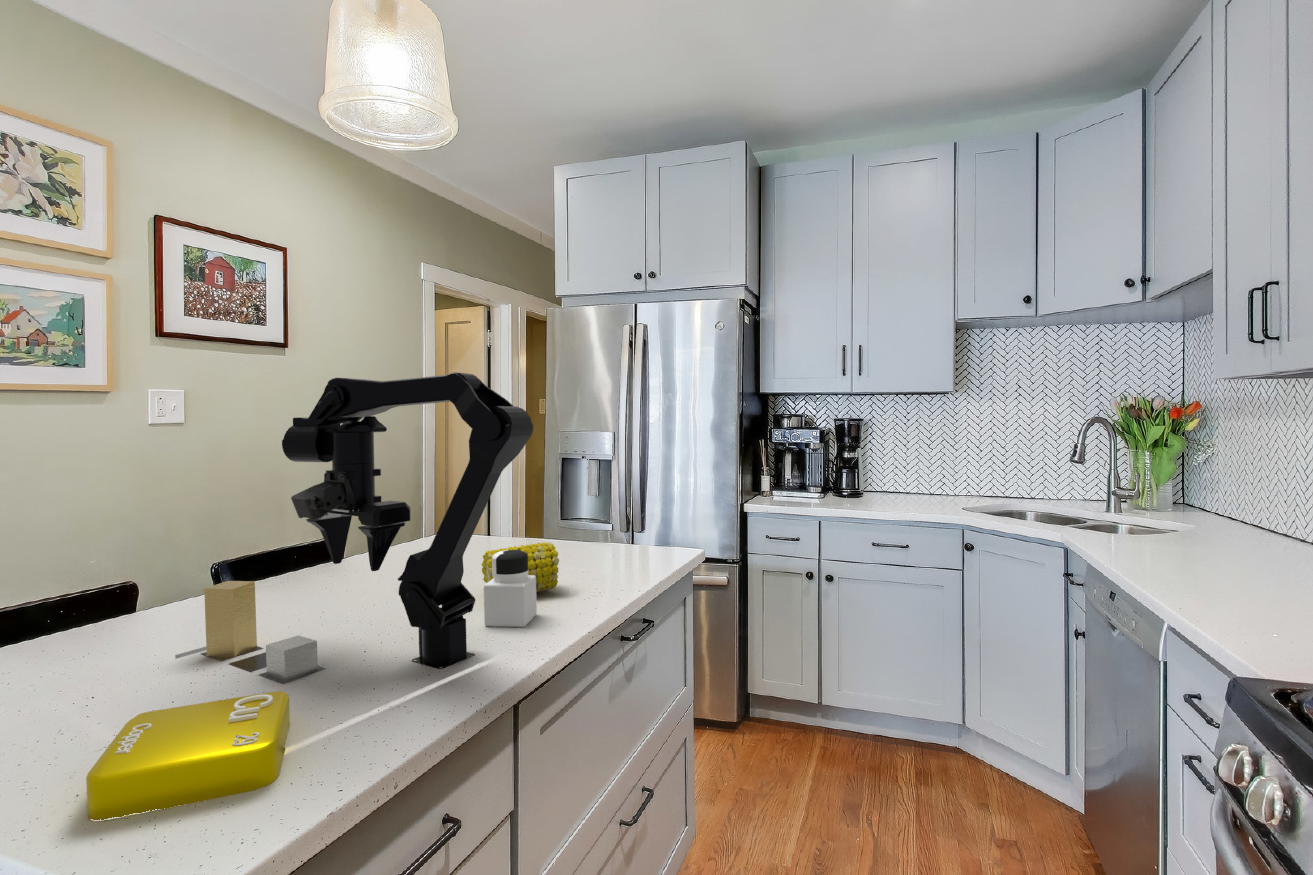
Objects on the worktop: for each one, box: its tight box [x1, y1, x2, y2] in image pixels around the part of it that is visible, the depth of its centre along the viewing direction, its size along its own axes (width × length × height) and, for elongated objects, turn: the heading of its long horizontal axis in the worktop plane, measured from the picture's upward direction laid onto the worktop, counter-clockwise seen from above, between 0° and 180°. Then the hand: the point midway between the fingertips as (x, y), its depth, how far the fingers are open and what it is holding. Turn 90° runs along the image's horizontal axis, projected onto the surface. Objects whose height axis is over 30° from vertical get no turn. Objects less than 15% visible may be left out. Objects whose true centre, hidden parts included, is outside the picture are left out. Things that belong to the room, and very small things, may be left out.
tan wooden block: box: [203, 580, 258, 658], centre depth 99 cm, size 4×4×10 cm
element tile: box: [85, 690, 291, 820], centre depth 67 cm, size 15×15×5 cm
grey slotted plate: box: [174, 646, 327, 685], centre depth 95 cm, size 26×10×1 cm, turn 59°
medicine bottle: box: [483, 550, 538, 628], centre depth 114 cm, size 7×7×12 cm
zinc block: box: [265, 635, 319, 681], centre depth 91 cm, size 4×4×4 cm
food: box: [481, 541, 560, 593], centre depth 130 cm, size 15×12×10 cm
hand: (355, 567), depth 99 cm, fingers open, 9 cm apart
